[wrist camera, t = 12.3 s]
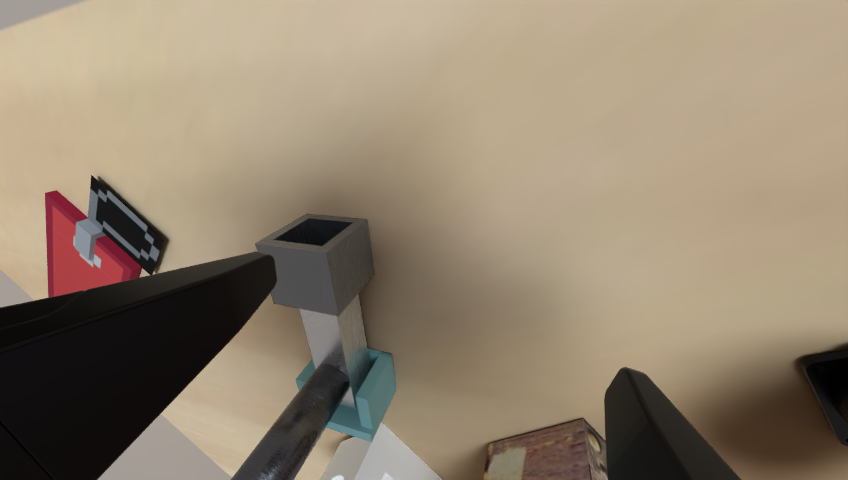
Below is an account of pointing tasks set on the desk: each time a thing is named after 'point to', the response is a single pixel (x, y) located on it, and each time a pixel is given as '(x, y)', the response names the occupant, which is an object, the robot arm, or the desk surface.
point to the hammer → (314, 394)
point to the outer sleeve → (320, 262)
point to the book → (549, 455)
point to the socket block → (363, 398)
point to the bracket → (377, 460)
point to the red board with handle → (95, 242)
